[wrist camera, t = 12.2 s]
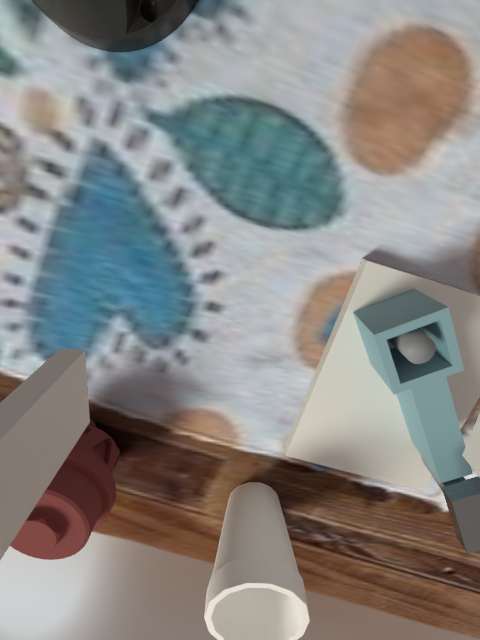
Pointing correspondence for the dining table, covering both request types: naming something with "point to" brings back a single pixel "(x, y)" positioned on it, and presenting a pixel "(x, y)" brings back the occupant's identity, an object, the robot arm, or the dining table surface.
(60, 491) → the mechanical component
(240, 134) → the dining table surface
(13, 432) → the robot arm
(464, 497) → the block
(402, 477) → the board
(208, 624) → the foam cup
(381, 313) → the link
